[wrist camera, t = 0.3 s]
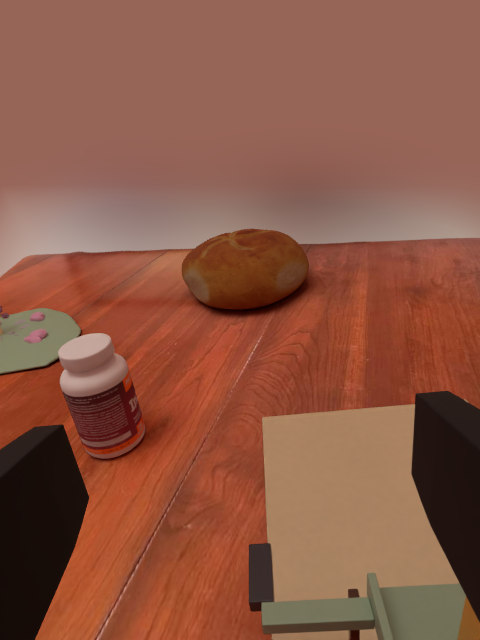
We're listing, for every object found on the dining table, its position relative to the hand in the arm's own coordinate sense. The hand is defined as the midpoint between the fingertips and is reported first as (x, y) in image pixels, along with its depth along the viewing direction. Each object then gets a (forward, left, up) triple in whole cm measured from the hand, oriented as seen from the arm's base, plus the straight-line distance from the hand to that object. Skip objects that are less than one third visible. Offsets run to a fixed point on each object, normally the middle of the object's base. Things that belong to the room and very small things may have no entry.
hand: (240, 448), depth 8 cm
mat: (+16, -9, -21) cm, 28 cm away
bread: (+62, +3, -21) cm, 66 cm away
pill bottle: (+25, +16, -21) cm, 37 cm away
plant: (+50, +40, -21) cm, 68 cm away
